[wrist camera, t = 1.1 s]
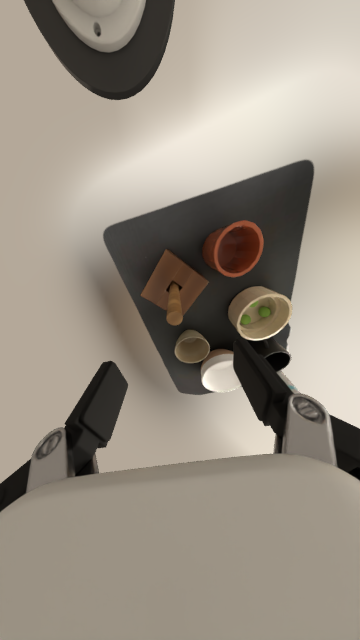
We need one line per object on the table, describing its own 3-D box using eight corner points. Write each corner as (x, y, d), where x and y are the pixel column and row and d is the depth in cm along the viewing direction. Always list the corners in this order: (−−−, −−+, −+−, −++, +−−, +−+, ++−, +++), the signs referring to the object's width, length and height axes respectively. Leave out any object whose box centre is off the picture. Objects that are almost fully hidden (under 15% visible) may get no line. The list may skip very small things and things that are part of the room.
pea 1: (235, 318, 39) (240, 323, 36) (243, 310, 37) (248, 315, 35) (242, 323, 40) (247, 328, 37) (249, 315, 38) (255, 320, 36)
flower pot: (181, 350, 45) (183, 367, 39) (169, 329, 41) (168, 344, 34) (208, 341, 44) (214, 357, 37) (198, 318, 39) (203, 331, 33)
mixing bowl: (217, 313, 38) (226, 326, 32) (252, 275, 33) (270, 281, 27) (247, 333, 43) (259, 347, 37) (282, 302, 37) (303, 312, 31)
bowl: (202, 377, 53) (207, 396, 46) (192, 350, 45) (196, 368, 39) (241, 367, 51) (251, 386, 44) (237, 337, 43) (249, 354, 37)
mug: (268, 322, 41) (290, 339, 33) (272, 347, 46) (292, 367, 39) (239, 333, 43) (254, 352, 35) (246, 356, 48) (260, 377, 40)
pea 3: (254, 310, 38) (260, 315, 35) (262, 303, 36) (269, 307, 34) (260, 315, 39) (266, 320, 36) (268, 308, 37) (275, 312, 35)
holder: (146, 286, 34) (140, 295, 27) (167, 248, 29) (165, 249, 23) (179, 307, 37) (180, 318, 31) (202, 275, 33) (209, 281, 27)
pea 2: (241, 301, 36) (246, 305, 33) (249, 292, 35) (255, 296, 32) (248, 306, 37) (254, 311, 34) (256, 298, 36) (263, 302, 33)
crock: (195, 255, 30) (204, 258, 22) (218, 219, 27) (240, 207, 18) (220, 275, 33) (236, 285, 24) (244, 245, 30) (273, 244, 21)
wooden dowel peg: (168, 282, 33) (162, 320, 16) (172, 275, 32) (171, 308, 15) (175, 286, 34) (177, 328, 17) (179, 280, 33) (186, 316, 16)
